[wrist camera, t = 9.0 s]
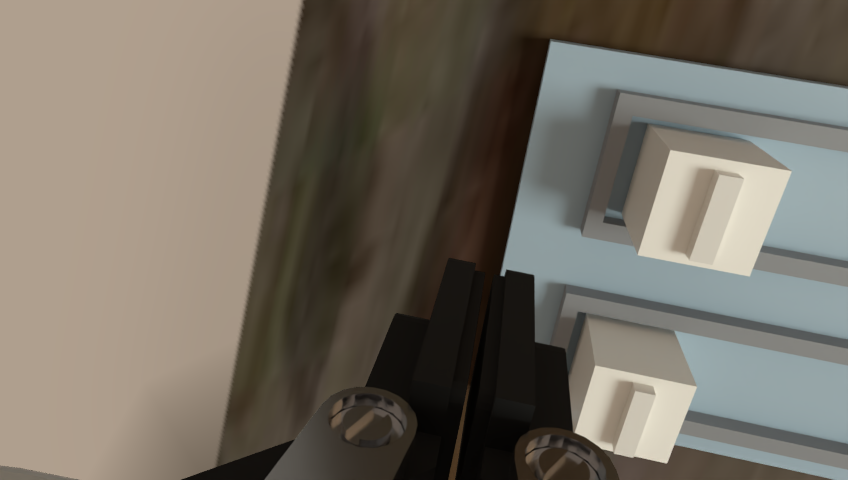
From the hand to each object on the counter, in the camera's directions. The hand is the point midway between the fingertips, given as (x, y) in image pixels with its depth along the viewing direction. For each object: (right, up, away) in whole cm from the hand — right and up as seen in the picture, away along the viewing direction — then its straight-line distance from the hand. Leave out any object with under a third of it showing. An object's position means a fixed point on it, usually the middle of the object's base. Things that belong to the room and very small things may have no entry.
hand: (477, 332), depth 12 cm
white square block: (+10, +4, +13) cm, 17 cm away
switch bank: (+14, 0, +16) cm, 21 cm away
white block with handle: (+8, -4, +17) cm, 19 cm away
